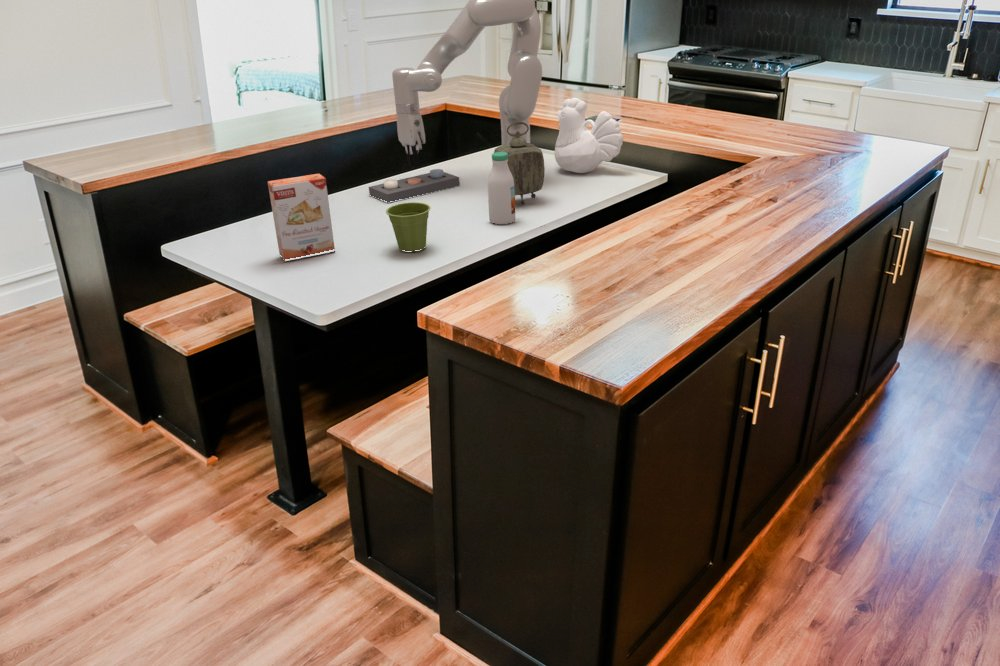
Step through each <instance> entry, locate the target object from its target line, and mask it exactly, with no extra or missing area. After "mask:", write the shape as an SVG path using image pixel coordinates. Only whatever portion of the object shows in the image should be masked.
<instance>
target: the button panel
mask: <svg viewBox="0 0 1000 666" xmlns="http://www.w3.org/2000/svg"><path fill="white" fill-rule="evenodd" d="M411 178H420V179H421V183H418V184H414V185H411V184H408V179H411ZM396 180H397V179H396ZM397 183H398V188H397V189H393V190H386V189H384V182H383V183H379V184H374V185H372V186H368V194H369V196H370V195H371V196H374V197H376V198H379V199H382V200H385V201H387V202H390V201H395V200H399V199H404V200H406V199H405V198H408V199H410V198H409V197H412V198H414V197H413V196H416V197H418V196H417V195H420V196H423V195H422V194H424V195H427V194H426V193H428V194H432V193H436V192H440V191H443V189H444V190H447V189H446V188H449V189H452V188H451V187H453V188H456V187H455V186H457V187H460V186H461V185H460V176H457V175H454V174H451V173H448V172H446V171H445V172H444V171H443V178H439V179H432V178H430V172H427V173H422V174H418V175H415V176H410V177H406V178H401V179H398V180H397ZM459 185H460V186H459ZM439 190H440V191H439ZM435 191H436V192H435ZM431 192H432V193H431ZM371 196H370V197H371ZM374 197H373V198H374ZM376 198H375V199H376ZM379 199H378V200H379Z"/></svg>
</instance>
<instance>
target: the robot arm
mask: <svg viewBox="0 0 1000 666" xmlns="http://www.w3.org/2000/svg"><path fill="white" fill-rule="evenodd" d="M508 24H512V25H513V36H512V42H511V43H512V44H511V47H510V53H509V57H508V63H507V72H508V74H509V76H510V77H511V78H510V82H509V85H507V86H505V87H504V88H503V89H502V90H501V93H500V95H499V97H498V98H499V100H498V107H499V116H500V130H501V132H500V133H501V146H502V145H506V144H510V142H511V140H512V139H513V138H515V136H510V135H509V134H508V133H507V128H508V126H509V125H510V124H512V123H515V122H524V123H526V124H527V125H528V127H529V130H528V132H527V133H526V134H524V135H522V136H520V137H522V138H524V139H525V141H526V143H530V144H531V124H530V123H531V122H530V117H531V116H532V115H533V113H534V111H535V110H536V107H537V101H538V98H539V91H540V87H541V82H542V77H543V66H542V63H541V61H540V59H539V58H538V52H539V46H540V40H541V33H542V32H541V31H542V29H541V28H542V27H541V26H542V25H541V20H540V15H539V12H538V10H537V8H536V1H535V0H468V1H467V2H466V4H465V6H464V7H463V8H462V10H461V11H460V13H459V14H458V15H457V16H456V18H455V20H453V22H452V23H451V25H450V26H449V27H448V28H447V30H446V31H445V33H443V35H442V36H441V37H440V38H439V39H438V41H437V42H436V43H435V44H434V45H433V46H432V48H431V49H430V50H429V51H428V53H427V54H426V55H425V57H424V58H423V59H422V61H421V62H420V64H419V65H418V66H417V68H416V69H415V68H412V67H399V68H395V69H394V70H393V71H392V73H391V74H392V77H391V79H392V84H393V94H394V104H395V113H396V129H397V137H398V139H397V140H398V141H399V142H400V144H401V145H402V147H404V148H405V153H406V155H407V156H406V158H407V165H408V166H409V167H416V166H419V165H420V161H419V153H420V150H423V147H422V145H425V144H426V133H425V127H424V126H425V125H424V121H423V117H422V114H421V111H420V110H421V108H420V101H419V92H425V93H431V92H435V91H437V90H439V88H440V87H441V86H442V82H443V78H442V75H443V74H444V71H445V70H446V69H447V68H448V67H449V66H450V64H451V63H452V62H454V60H455V59H457V58H459V57H460V56H461V55H464V54H465V53H466V52H467V51H468V50H469V49H470V47H471V46H472V45H473V43H474V42H475V41H476V39H477V38H478V36H479V35H480V34H481V33H482V32H483V30H484V29H485V28H486V27H493V26H503V25H508ZM517 131H519V132H520V134H521V133H524V132H526V131H527V127H526V126H525V125H523V124H516V125H513V126H511V127H510V128H509V129H508V132H509V133H511V134H516V132H517Z"/></svg>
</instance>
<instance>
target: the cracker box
mask: <svg viewBox="0 0 1000 666" xmlns="http://www.w3.org/2000/svg"><path fill="white" fill-rule="evenodd" d="M267 186H268V192H269V199H270V204H271V211H272V216H273V222H274V230H275V235H276V239H277V240H276V241H277V246H278V248H277V249H278V253H279V256H280V255H281V256H282V258H283V259H284V260H285V259H290V258H296V257H301V256H306V255H310V254H315V253H320V252H324V251H329V250H333V249H336V248H335V241H334V233H333V225H332V218H331V217H332V215H331V209H330V202H329V194H328V187H327V179H326V177H325V176H324V175H322V174H320V173H314V174H307V175H301V176H295V177H288V178H281V179H275V180H269V181H267ZM282 258H281V259H282ZM283 259H282V260H283ZM284 260H283V261H284Z"/></svg>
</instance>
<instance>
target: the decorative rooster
mask: <svg viewBox="0 0 1000 666" xmlns="http://www.w3.org/2000/svg"><path fill="white" fill-rule="evenodd" d="M562 104H563V105H562V109H560V110H558V111H557V116H558V117H557V118H558V130H559V131H558V136H557V137H556V142H555V144H554V145H555V147H554V159H555V161H556V163H557V165H558V166H559V167H560V168H561V169H562V170H564V171H567V172H572V173H577V174H587V173H592V172H593V171H594V170H595V169H597V167H599V166H600V165H601V164H602V163H603V162H611V161H612V160H613V159H614V158H616V157H618V155H619V154H620V152H621V149H622V146H623V144H624V143H623V141H624V135H623V133H621V130H622V129H621V127H620V123H619V122H618V121H617V120H616V119H614V118H613V115H612V113H609V112H608V111H605V110H602V111H601V112H600V113H599V114H598V115H597V117H596V119H595V121H594V120H593V119H590V118H589V119H586V115H585V113H586V111H587V108H588V105H587V102H586V101H584V100H581V99H580V98H578V97H571V98H565V99H564V100H563V103H562ZM589 124H590V125H591V129H589V128H588V125H589Z"/></svg>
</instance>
